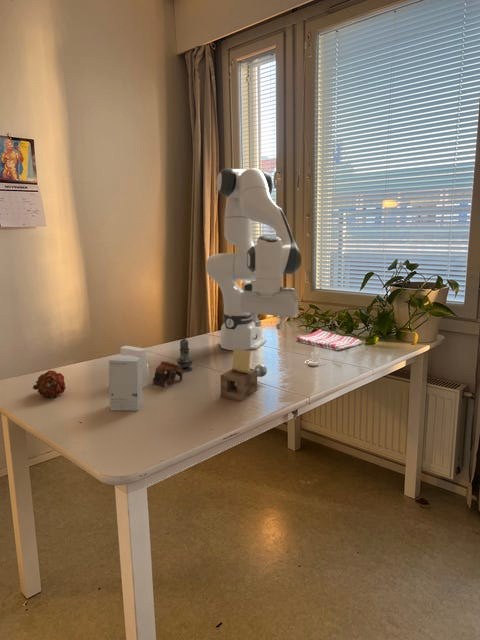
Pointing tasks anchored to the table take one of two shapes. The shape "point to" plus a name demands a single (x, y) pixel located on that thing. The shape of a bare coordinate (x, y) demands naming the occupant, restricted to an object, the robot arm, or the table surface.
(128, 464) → the table surface
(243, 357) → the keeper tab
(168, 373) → the brown grey sculpted ring
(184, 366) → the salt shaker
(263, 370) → the pin
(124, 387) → the skincare box
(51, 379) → the dragon fruit
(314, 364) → the teacup and saucer
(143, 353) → the base with upright slab
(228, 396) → the hitch block
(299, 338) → the dish towel
